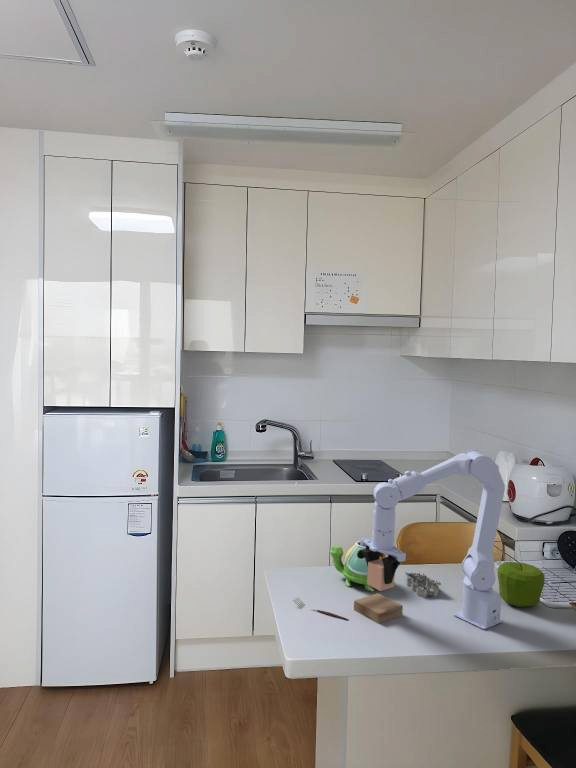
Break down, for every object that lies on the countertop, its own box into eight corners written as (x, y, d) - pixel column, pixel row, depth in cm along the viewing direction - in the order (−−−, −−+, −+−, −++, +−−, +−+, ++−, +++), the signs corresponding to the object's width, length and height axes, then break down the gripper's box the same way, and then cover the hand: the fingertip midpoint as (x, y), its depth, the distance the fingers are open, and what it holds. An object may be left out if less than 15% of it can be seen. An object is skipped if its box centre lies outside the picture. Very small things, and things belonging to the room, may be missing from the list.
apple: (517, 615, 158) (520, 574, 157) (486, 596, 169) (488, 558, 168) (552, 609, 162) (555, 569, 161) (519, 591, 174) (522, 554, 173)
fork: (346, 624, 149) (347, 616, 149) (292, 607, 157) (292, 600, 157) (350, 620, 151) (351, 612, 151) (297, 603, 159) (297, 596, 159)
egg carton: (441, 597, 167) (442, 583, 167) (416, 598, 166) (417, 584, 166) (426, 582, 178) (427, 569, 177) (403, 583, 176) (403, 569, 176)
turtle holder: (338, 568, 185) (340, 531, 184) (393, 581, 177) (395, 543, 176) (321, 581, 174) (323, 542, 174) (379, 596, 166) (381, 555, 165)
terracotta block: (393, 586, 155) (395, 564, 154) (380, 590, 152) (382, 568, 151) (380, 580, 159) (381, 558, 158) (366, 584, 156) (368, 562, 155)
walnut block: (402, 616, 155) (402, 605, 154) (378, 625, 149) (378, 613, 149) (377, 603, 162) (377, 593, 162) (353, 611, 156) (354, 600, 156)
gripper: (353, 523, 157) (350, 573, 158) (393, 539, 146) (390, 592, 147) (371, 520, 162) (369, 568, 162) (412, 535, 150) (409, 586, 151)
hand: (380, 579), depth 155 cm, fingers closed on terracotta block, 5 cm apart
